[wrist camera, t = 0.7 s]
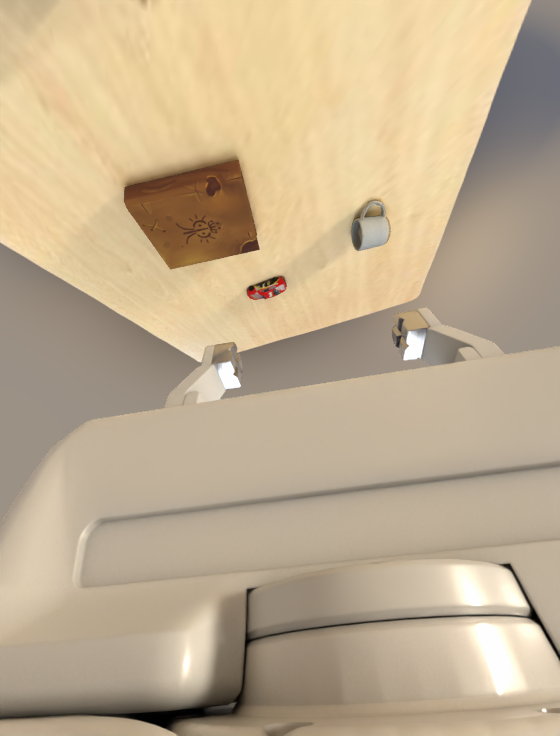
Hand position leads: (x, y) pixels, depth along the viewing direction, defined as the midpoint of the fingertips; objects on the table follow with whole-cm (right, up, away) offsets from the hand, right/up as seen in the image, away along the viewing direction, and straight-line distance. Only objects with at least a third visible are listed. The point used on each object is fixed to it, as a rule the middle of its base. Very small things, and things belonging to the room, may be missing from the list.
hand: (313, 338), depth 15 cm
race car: (-6, +25, +79) cm, 83 cm away
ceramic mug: (+21, +38, +60) cm, 74 cm away
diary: (-20, +34, +50) cm, 64 cm away
